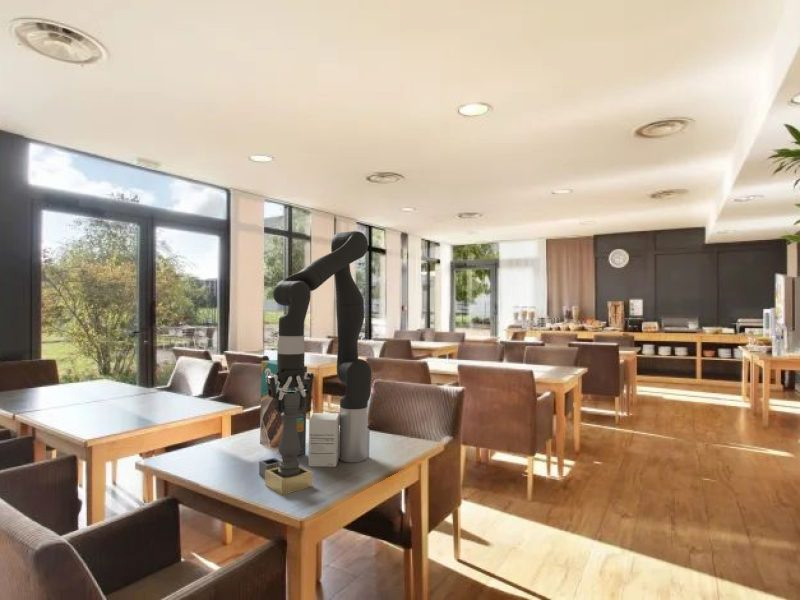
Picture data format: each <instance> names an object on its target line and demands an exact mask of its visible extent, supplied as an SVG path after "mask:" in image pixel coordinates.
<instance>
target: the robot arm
mask: <svg viewBox="0 0 800 600" xmlns="http://www.w3.org/2000/svg"><path fill="white" fill-rule="evenodd" d="M330 244H331V245H330V250H331V252H329V253H327V254H325V255H323V256H320V257H318V258H317V259H315V260H313V261H311V262H310V263H309V264H308V265H306V266H305V267H304V268H302V269H301V270H300V271H298V272H296V273H294V274H291V275H289V276H287V277H285V278H284V279H282V280H281V281H279V282H277V284H276V286H275V287H274V289H273V294H272V295H273V299H274V301H275V302H276V303H277V304H279V306H280V305H281V306H283V307H289V309H288V313H286V314H283V315H281V316H280V317H279V319H278V339H277V347H276V350H277V353H276V355H277V356H276V357H277V358H276V360H277V369H278V372H277V374H276V375H275V376H267V378H266V379H267V387H268V395H269V397H271V398H274V399H275V410H276V411H277V413H283V400H282V398H283V396H284V394H285V392H286V391H287V389H288V388H291V387H294V388H295V389H296V391H299V392H300V404H299V408H298V410H303V408H304V406H305V396H306V395H310V394H312V388H313V382H314V373H313V372H310V371H309V372H308V371H307V373H305V372H304V366H305V354H306V353H305V352H306V351H305V348H306V347H305V346H306V345H305V342H306V341H305V319H306V316H307V313H308V309H309V305H310V302H311V292H313V291H315V290H317V289H318V288H319V287H320V286H322V285H324V283H325V282H326V281H327V280H329V279H330V278H332V276H334V283H335V285H334V287H335V308H336V309H335V310H336V311H335V312H336V326H337V327H336V328H337V329H336V330H337V331H336V332H337V333H336V334H337V356H336V357H337V358H336V375H337V377H338V379H339V381H340V382H341V383H343V384H344V385H345V386H346V387H345V394H344V396H341V398H340V400H339V459H338V460H340V461H341V462H345V463H360V462H364V461H366V459H368V458H370V437H371V436H370V435H371V434H370V433H371V432H370V431H371V430H370V428H368V419H369V418H368V412H369V410H368V408H369V407H368V406H369V401H370V399H371V398H370V397H371V393H372V392H371V391H372V390H371V389H372V368H371V366H370V364H369V362H367V361H366V360H364V359H362V358H359V351H358V350H359V349H358V344H359V343H358V342H359V336H360V333H361V330H362V329H363V325H364V321H365V305H364V304H365V303H364V297H363V294H362V292H361V291H360V289H359V287H358V285H357V284H356V282H355V281H354V278H353V275H352V272H351V266H350V264H352V263H354V262H356V261H358V260H360V259H361V258H363V257H364V256H365V255H366V254H367V251H368V248H369V242H368V238H367V237H366V235H365V233H363V232H361V231H357V230H352V231H343V232H337V233H336V234H334V235H333V236H332V239H331V243H330ZM303 378H304V379H305V382H304V386H303V384H302V379H303ZM277 380H278V381H279V384H278V387H277V391H276V386H275V384H276V381H277ZM282 387H283V388H282ZM306 397H307V396H306Z"/></svg>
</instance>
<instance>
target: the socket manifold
mask: <svg viewBox="0 0 800 600" xmlns="http://www.w3.org/2000/svg"><path fill="white" fill-rule="evenodd" d="M281 461H282V460H279V459H278V458H276V457H272V458H268V459H264V460H260V461H258V462H259V463H258V475H259V476H261V477H262V478H264V485H265V486H266V487H268V488H269V489H271V490H273V492H276V493H277V494H279V495H281V496H283V495H286V494H287V495H288V494H290V493H294V492H296V491H297V492H298V491H300V490H304V489H307V488H311V487H313V475H314V474H313V471H312V470H310V469H308V468H305V467H304V466H302V465H300V464H299V466H298V467H300V474H297V475H294V476H290V477H286V478H282V477H280V476H279V475H278V469H279V468H280V467H279V463H280V462H281Z"/></svg>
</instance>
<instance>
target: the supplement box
mask: <svg viewBox="0 0 800 600" xmlns="http://www.w3.org/2000/svg"><path fill="white" fill-rule="evenodd" d="M339 435H340V412H339V413H336V412H335V413H334V412H333V413H332V412H331V413H330V412H329V413H328V412H327V413H326V412H325V413H324V412H314V413H313V414H312V415H311V417H310V418H309V420H308V467H331V468H332V467H337V464H338V462H339V460H340V459H339Z"/></svg>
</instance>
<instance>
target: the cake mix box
mask: <svg viewBox="0 0 800 600" xmlns="http://www.w3.org/2000/svg"><path fill="white" fill-rule="evenodd" d="M260 366H261V368H260V369H261V371H260V376H261V377H260V417H259V418H260V423H259V425H260V427H259V432H260V434H259V444H260V445H262V446H264V447H265V448H268V449H270V450H272V451H274V452H276V453H277V454H279V455H280V453H279V450H278V449H279V443H280V439H281V435H282V431H283V419H282V417H281V413H277V411H276V410H275V399H274V398H271V397H269V395H268V387H267V379H266V378H267V376H275V375H276V374H277V372H278V369H277V359H272V360H271V359H269V360H261V365H260ZM304 372H305V373H307V372H308V366H306V365H304ZM304 382H305V379H304V378H303V379H302V384H303V386H304ZM278 384H279V381H278V380H277V381H276V384H275V386H276V391H277V387H278ZM282 388H283V387H282ZM287 391H296V389H295V388H294V387H291V388H288V389H287ZM307 395H308V394H307ZM307 395H306V396H305V406H304V408H303V410H297V412H298V413H299V417H297V433H298V437H299V442H300V452H299V454H298V455H297V458H298V457H304V456H306V447H307V446H306V445H307V443H306V441H307V439H306V438H307Z"/></svg>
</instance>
